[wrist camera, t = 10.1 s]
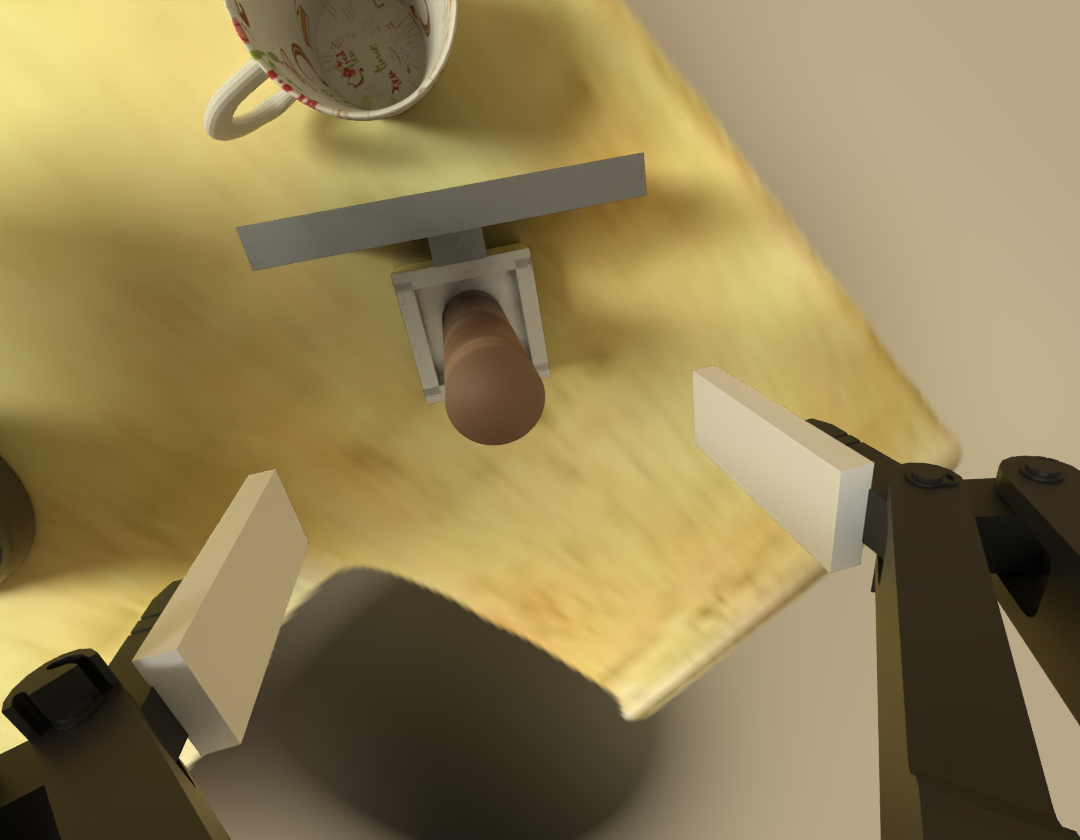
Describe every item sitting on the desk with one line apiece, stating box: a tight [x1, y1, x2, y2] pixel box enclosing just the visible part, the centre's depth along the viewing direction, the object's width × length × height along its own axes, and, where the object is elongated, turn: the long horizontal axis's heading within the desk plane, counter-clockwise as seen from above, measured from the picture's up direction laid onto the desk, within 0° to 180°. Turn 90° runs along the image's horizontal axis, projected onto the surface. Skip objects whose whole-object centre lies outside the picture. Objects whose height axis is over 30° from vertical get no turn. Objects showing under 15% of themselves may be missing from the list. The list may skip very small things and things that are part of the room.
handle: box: [442, 290, 545, 445], centre depth 27 cm, size 4×4×14 cm
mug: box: [204, 0, 458, 141], centre depth 23 cm, size 8×13×10 cm, turn 126°
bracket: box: [236, 152, 647, 404], centre depth 28 cm, size 16×12×12 cm
